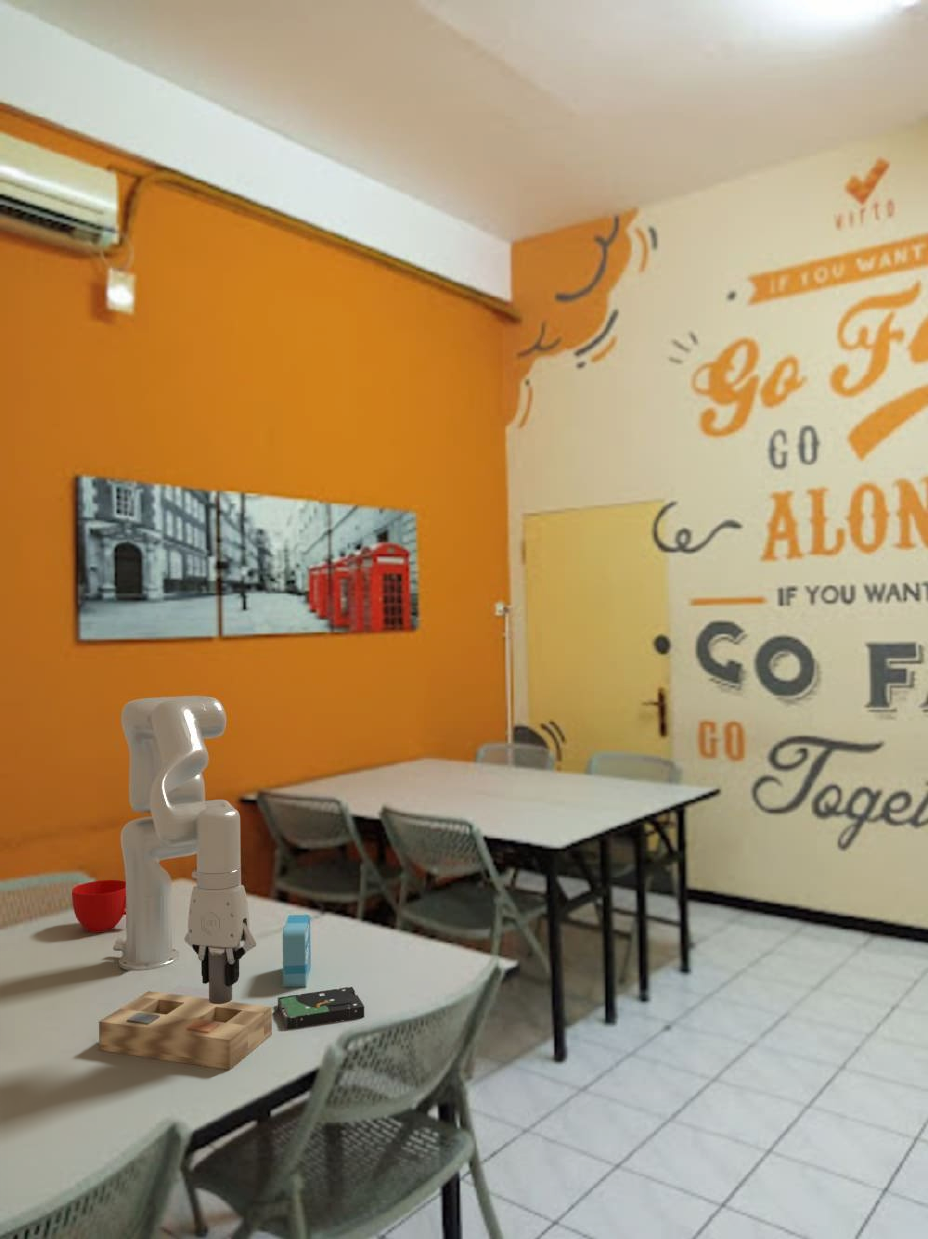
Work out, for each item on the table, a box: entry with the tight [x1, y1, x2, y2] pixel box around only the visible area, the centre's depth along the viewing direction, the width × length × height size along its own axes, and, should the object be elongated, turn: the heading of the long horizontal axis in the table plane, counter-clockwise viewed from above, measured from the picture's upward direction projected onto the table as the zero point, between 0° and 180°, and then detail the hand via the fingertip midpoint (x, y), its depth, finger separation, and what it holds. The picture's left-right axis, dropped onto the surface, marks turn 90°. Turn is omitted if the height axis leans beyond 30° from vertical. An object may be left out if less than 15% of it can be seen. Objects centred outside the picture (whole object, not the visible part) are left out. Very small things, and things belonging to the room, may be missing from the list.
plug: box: [208, 946, 233, 1004], centre depth 169 cm, size 4×4×10 cm
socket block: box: [98, 990, 273, 1071], centre depth 170 cm, size 26×14×5 cm, turn 72°
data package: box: [282, 914, 312, 988], centre depth 199 cm, size 12×4×12 cm, turn 4°
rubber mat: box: [166, 984, 209, 999], centre depth 188 cm, size 10×10×1 cm
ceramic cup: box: [71, 879, 126, 933], centre depth 233 cm, size 13×17×10 cm
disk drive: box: [277, 986, 365, 1030], centre depth 182 cm, size 10×3×15 cm
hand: (220, 981), depth 169 cm, fingers closed on plug, 4 cm apart
